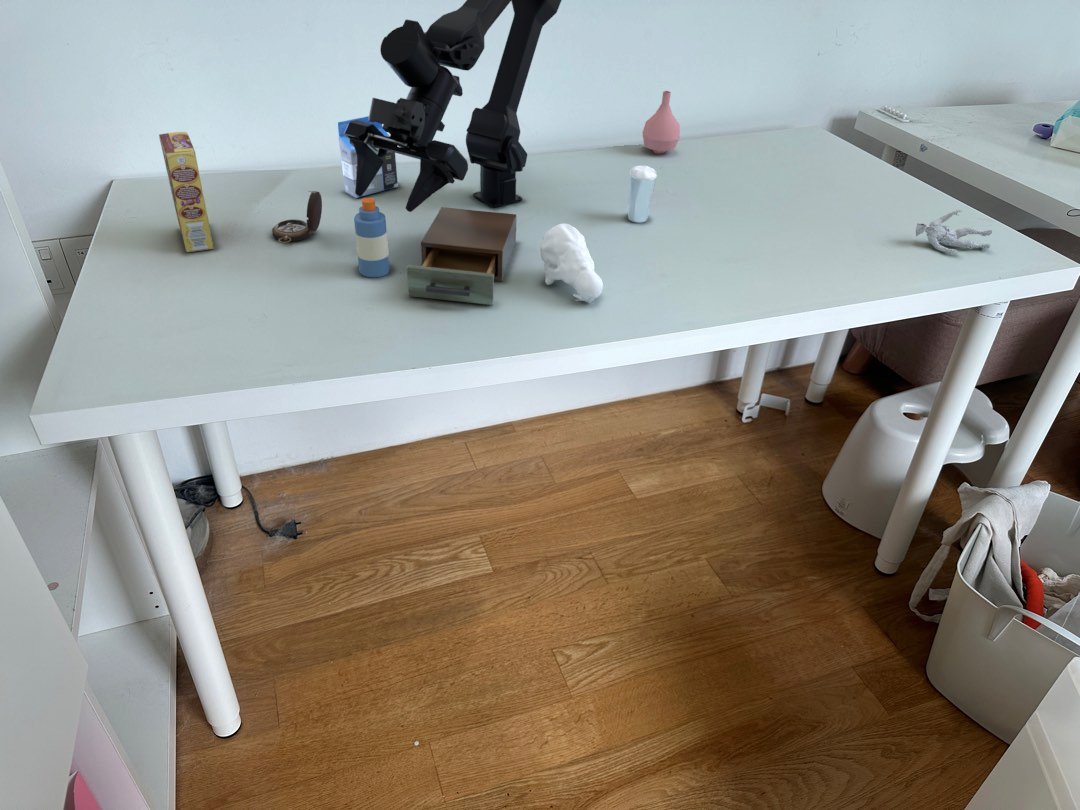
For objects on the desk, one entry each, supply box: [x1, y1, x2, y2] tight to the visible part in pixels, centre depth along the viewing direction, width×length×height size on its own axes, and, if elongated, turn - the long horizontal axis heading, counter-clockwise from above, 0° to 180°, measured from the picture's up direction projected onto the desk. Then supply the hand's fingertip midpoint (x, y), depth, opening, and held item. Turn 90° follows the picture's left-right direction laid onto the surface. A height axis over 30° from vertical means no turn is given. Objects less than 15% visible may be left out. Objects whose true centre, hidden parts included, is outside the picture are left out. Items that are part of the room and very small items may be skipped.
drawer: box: [406, 248, 498, 306], centre depth 114 cm, size 15×12×4 cm
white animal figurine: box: [539, 223, 604, 304], centre depth 113 cm, size 6×8×12 cm
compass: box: [271, 190, 323, 244], centre depth 123 cm, size 8×8×7 cm
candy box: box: [158, 131, 214, 253], centre depth 118 cm, size 9×4×15 cm, turn 26°
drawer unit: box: [420, 206, 517, 282], centre depth 121 cm, size 13×12×5 cm
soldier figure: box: [915, 209, 993, 255], centre depth 132 cm, size 8×5×12 cm
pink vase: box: [642, 90, 681, 155], centre depth 161 cm, size 8×8×12 cm
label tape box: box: [337, 115, 399, 199], centre depth 138 cm, size 9×4×12 cm, turn 131°
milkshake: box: [627, 164, 664, 224], centre depth 134 cm, size 4×5×10 cm
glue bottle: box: [353, 197, 390, 278], centre depth 114 cm, size 4×4×11 cm
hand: (382, 202), depth 114 cm, fingers open, 9 cm apart
